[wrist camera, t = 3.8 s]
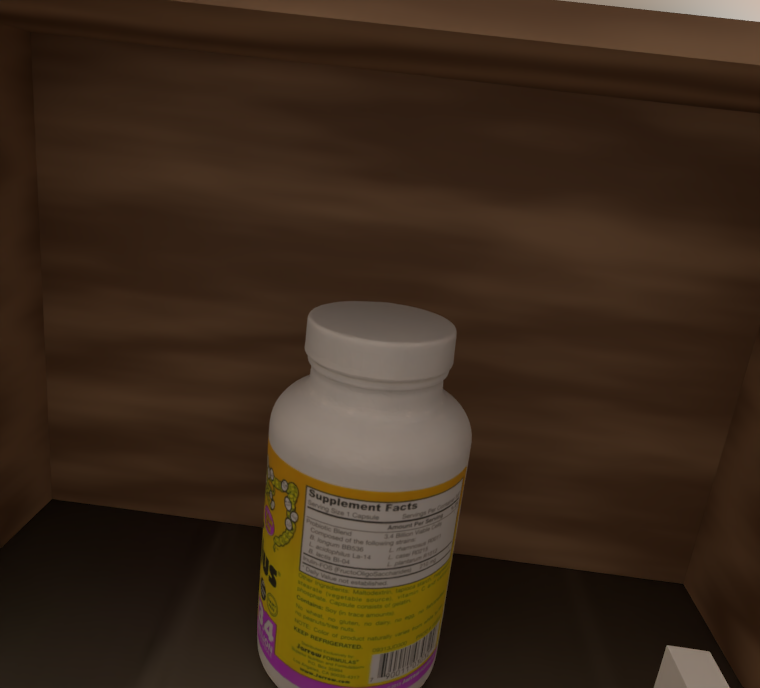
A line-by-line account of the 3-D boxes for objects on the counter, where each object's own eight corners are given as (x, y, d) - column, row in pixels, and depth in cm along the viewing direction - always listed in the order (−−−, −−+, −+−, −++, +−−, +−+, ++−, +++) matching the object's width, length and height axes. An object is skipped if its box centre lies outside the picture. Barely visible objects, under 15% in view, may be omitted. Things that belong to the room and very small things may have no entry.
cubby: (852, 834, 20) (1196, 68, 13) (-171, 686, 21) (-311, -94, 14) (694, 575, 32) (836, 101, 25) (44, 488, 32) (21, 10, 26)
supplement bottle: (284, 578, 28) (307, 282, 24) (439, 607, 27) (488, 308, 24) (226, 705, 22) (245, 332, 18) (427, 747, 21) (491, 369, 17)
